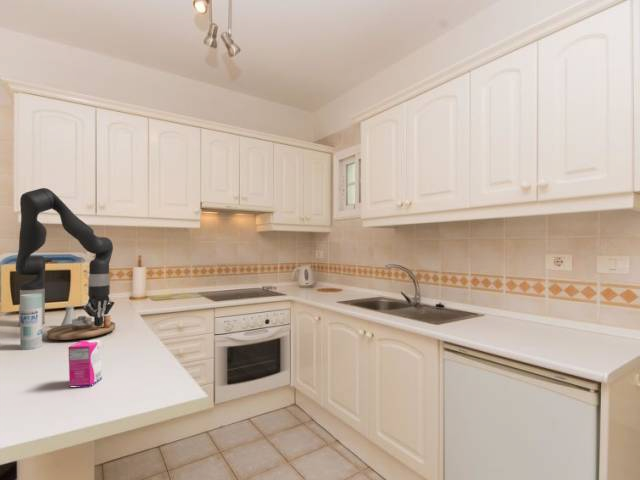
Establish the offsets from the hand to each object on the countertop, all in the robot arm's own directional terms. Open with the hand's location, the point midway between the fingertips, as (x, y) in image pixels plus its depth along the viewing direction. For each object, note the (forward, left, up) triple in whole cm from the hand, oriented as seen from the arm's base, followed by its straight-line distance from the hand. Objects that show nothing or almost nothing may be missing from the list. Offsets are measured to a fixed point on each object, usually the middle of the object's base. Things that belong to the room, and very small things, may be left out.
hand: (98, 325), depth 143 cm
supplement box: (+41, -35, -5) cm, 54 cm away
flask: (-28, +8, -5) cm, 30 cm away
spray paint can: (-11, -18, -5) cm, 22 cm away
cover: (-10, 0, -2) cm, 10 cm away
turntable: (-10, +1, -3) cm, 11 cm away
